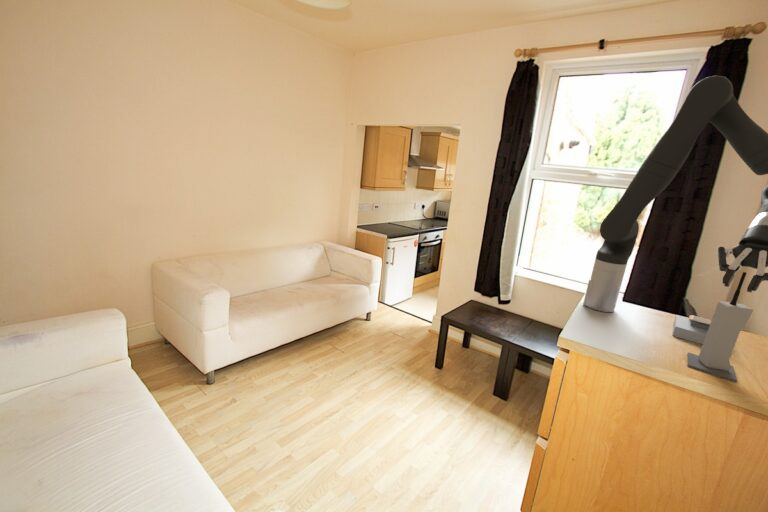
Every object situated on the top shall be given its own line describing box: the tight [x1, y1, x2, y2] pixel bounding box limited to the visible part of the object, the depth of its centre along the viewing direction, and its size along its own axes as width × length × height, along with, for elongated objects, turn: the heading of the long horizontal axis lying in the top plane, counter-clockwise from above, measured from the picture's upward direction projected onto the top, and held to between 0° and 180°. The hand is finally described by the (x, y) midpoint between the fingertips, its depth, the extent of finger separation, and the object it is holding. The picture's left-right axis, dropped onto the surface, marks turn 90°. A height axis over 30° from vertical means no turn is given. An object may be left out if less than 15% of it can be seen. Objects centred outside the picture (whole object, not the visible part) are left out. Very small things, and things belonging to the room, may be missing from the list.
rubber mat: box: [686, 352, 738, 383], centre depth 89 cm, size 9×9×1 cm
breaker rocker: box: [688, 314, 712, 324], centre depth 107 cm, size 6×12×1 cm, turn 140°
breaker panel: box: [672, 314, 710, 345], centre depth 107 cm, size 12×13×4 cm
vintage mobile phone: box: [698, 271, 754, 371], centre depth 86 cm, size 4×5×25 cm
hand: (737, 287), depth 83 cm, fingers open, 3 cm apart
